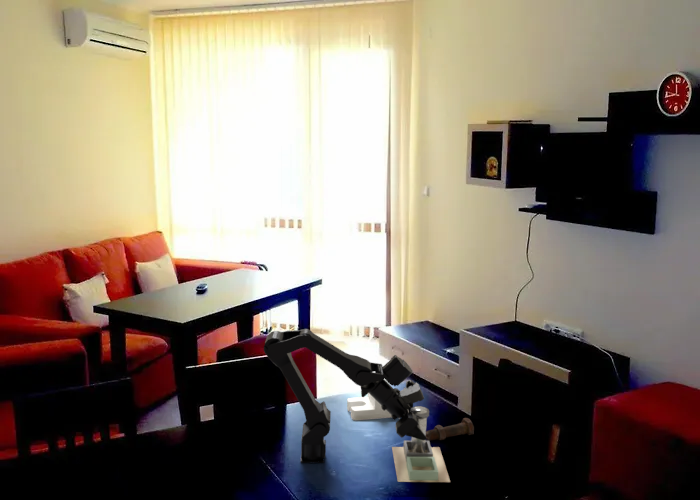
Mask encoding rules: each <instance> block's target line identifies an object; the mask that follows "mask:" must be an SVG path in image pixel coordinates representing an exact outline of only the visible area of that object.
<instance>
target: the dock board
mask: <svg viewBox="0 0 700 500" xmlns="http://www.w3.org/2000/svg"><path fill="white" fill-rule="evenodd" d="M391 449H392V456H393V462H394V467H395V474H396V480H397V482H398V483H399V482H400V483H451V480H450V476H449V473H448V470H447V466H446V463H445V460H444V457H443V455H442V451H441V447H439V446H433V447H432V446H431V449H432V453H433V457H434V458H435V462H436V465H437V469H438V480H409V475H408V470H407V465H406V459H405V454H404V449H403V446H391ZM408 451H409V452H410V453H411V450H408ZM425 453H427V450H425ZM412 470H432V468H431V467H422V466H412Z"/></svg>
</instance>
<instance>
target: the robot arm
mask: <svg viewBox="0 0 700 500" xmlns="http://www.w3.org/2000/svg"><path fill="white" fill-rule="evenodd" d="M264 341H265V342H264V345H263V351H264V354H265V355H266V357H267V358H268V359H269V360H270V361H271V363H272V364H273V365H275V366H276V367H277V368H279V370H280V371H281V373H282V375H283V377H284V378H285V380H286V382H287V383H288V385H289V387H290V389H291V390H292V392H293V394H294V395H295V398H296V399H297V401H298V403H299V404H300V407H301V408H302V411H303V412H304V417H305V422H304V423H303V424H302V434H301V441H300V443H301V445H300V446H301V453H300V463H301V464H304V463H305V464H323V463H324V462H325V458H326V457H327V455H326V453H327V446H326V445H327V444H326V443H327V441H326V439H325V437H326V436H327V435H328V434H329V433H330V430H331V419H332V418H331V413H332V412H331V411H330V410H329V408H328V407H327V405H326V401H322V402H319V401H318V400H317V399H316V398H315V397H314V395H313V393H312V391H311V389H310V388H309V386H308V384H307V382H306V380H305V379H304V377H303V375H302V373H301V371H300V370H299V367H298V366H297V364H296V362H295V360H294V358H293V356H292V355H293V354H292V352H295V351H297V350H300V349H307V350H309V351H310V352H312V353H314V354H315V355H317V356H318V357H320V358H322V359H324V360H325V361H327V362H329V363H330V364H332V365H334V366H335V367H337V368H338V369H340V370H341V371H342V372H343V373H344V375H346V377H347V378H348V379H350V380H351V381H352V382H353V383H354V384H355V385H357V386H359V387H360V394H361V396H360V397H367V396H368V393H369V394H370V395H371V396H372V397H373V398H374V399H375V400H376V401H377V402H378V403H379V404H380V405H381V407H382V409H383V410H384V411H385V410H387V411H388V412H389V413H390V414H391V417H392V418H391V419H392V420H393V421H396V420H397V419H398V420H397V421H396V422H395V427H394V428H395V430H396V431H395V432H396V434H397V436H398V437H400V438H401V439H402V438H404V437H405V436H407V437H410V438H412V437H414V438H417V439H420V440H426V441H427V437H426V436H425V434H424V433H423V432H422V430H421V429H420V427H419V426H418V418H417V417H416V416H415V415H414V414H413V413H411V408H412V407H414V404H415V403H417V402H421V401H423V400H424V399H425V396H424V393H423V391H422V390H421V387H420V384H419V383H417V381H416V382H414V381H413V380H412V379H408V380H406V379H407V378H408V377H410V375H412V374H413V373H414V371H413V369H412V367H410V365H409V364H408V363H407V361H406V360H404V359H402V358H401V357H400V356H397V355H396V354H394V355H393V356H392V357H391V358H390V360H388V361H387V362H386V363H385V364H384V365H383V364H382V363H378V362H377V363H376V362H371V361H369V360H368V359H365V358H363V357H360V356H358V355H354V354H349V353H347V352H345V351H344V350H342V349H341V348H338V347H337V346H335V345H334V344H332V343H330V342H329V341H327V340H325V339H324V338H322V337H320V336H319V335H317V334H316V333H314V332H313V331H312V330H310V329H308V328H304V329H300V330H285V331H279V330H274V331H270V332H269V333H268V334H267V335H266V339H265V340H264ZM405 380H406V381H405ZM404 381H405V387H403V389H401V390H400V389H398V388H396V386H398V387H399V385H401V384H402V383H403V382H404Z"/></svg>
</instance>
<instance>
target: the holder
mask: <svg viewBox="0 0 700 500" xmlns="http://www.w3.org/2000/svg"><path fill="white" fill-rule="evenodd" d="M402 447H403V449H404V454H405V459H406V462H407V457H433V453H432V449H431V447H432V446H431V442H430V441H429V440H426V442H425V450H427V453H410V452H409V451H408V450H411V440H405V439H404V440H403V445H402Z"/></svg>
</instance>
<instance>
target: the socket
mask: <svg viewBox="0 0 700 500" xmlns="http://www.w3.org/2000/svg"><path fill="white" fill-rule="evenodd" d="M406 465H407V470H408V475H409V480H438V469H437V465H436V462H435V458H434V457H407V462H406ZM412 466H422V467H431V468H432V470H412Z"/></svg>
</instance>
